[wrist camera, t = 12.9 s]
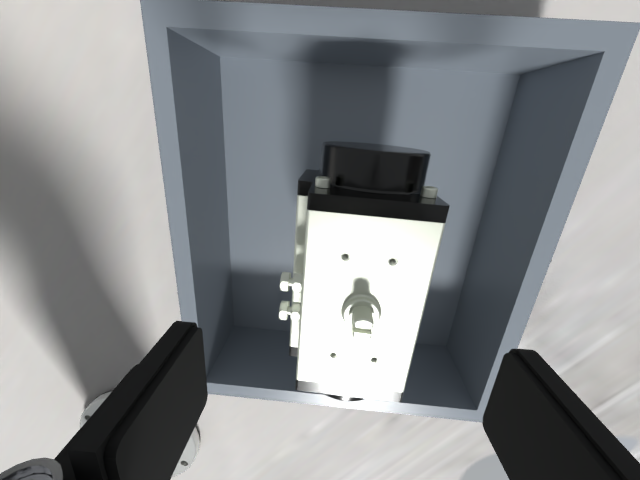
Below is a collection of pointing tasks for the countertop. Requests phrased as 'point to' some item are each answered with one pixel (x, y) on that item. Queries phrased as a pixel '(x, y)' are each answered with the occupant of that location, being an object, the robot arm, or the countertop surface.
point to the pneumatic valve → (361, 269)
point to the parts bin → (377, 128)
